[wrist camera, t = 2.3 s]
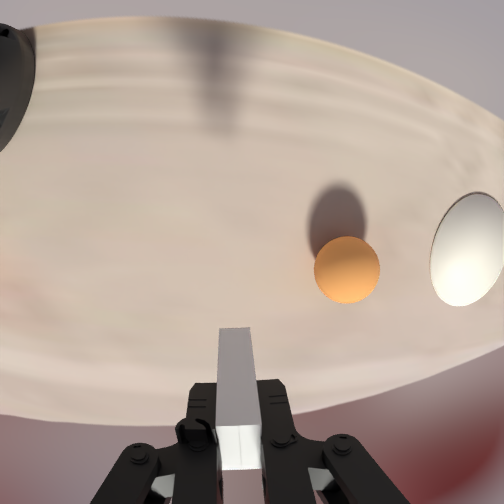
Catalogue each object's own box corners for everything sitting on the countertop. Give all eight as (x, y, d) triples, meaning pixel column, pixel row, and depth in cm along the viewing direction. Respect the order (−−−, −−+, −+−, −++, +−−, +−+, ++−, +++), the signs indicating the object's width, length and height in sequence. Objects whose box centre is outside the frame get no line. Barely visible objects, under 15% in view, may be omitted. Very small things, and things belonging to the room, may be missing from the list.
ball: (308, 230, 27) (326, 248, 22) (366, 228, 28) (395, 245, 22) (306, 289, 29) (321, 318, 24) (361, 285, 29) (385, 311, 24)
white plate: (437, 190, 27) (438, 190, 27) (513, 197, 28) (514, 197, 28) (420, 311, 31) (421, 312, 31) (495, 298, 32) (496, 299, 32)
